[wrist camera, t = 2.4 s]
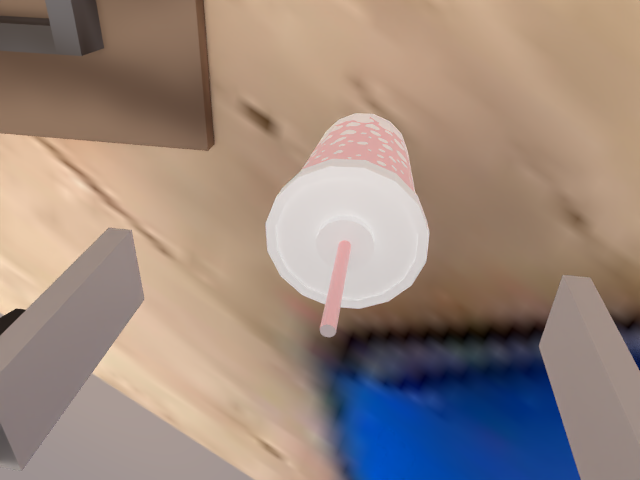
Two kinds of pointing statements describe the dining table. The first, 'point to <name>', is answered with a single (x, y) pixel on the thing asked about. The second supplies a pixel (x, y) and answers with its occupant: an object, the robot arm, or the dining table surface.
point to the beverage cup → (350, 220)
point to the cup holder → (106, 71)
